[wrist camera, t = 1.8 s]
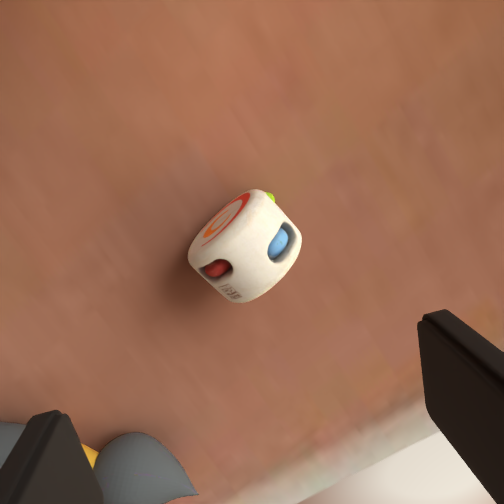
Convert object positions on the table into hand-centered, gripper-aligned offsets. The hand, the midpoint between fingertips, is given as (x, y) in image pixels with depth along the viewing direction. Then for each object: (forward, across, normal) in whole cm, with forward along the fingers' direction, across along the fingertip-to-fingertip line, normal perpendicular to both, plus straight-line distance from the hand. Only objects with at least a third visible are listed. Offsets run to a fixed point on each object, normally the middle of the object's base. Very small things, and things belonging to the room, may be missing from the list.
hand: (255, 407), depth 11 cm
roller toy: (+16, -1, 0) cm, 16 cm away
